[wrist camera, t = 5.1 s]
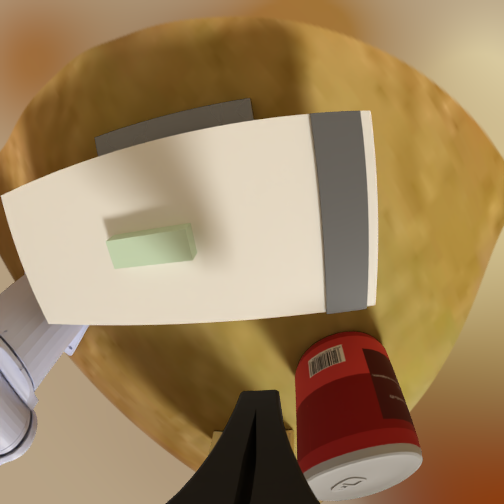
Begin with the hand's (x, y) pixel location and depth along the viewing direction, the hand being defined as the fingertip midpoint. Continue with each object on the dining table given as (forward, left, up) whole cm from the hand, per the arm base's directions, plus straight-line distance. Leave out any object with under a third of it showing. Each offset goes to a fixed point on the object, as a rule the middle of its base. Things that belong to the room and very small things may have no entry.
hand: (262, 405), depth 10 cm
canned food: (-2, -10, -11) cm, 15 cm away
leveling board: (0, +7, -6) cm, 9 cm away
